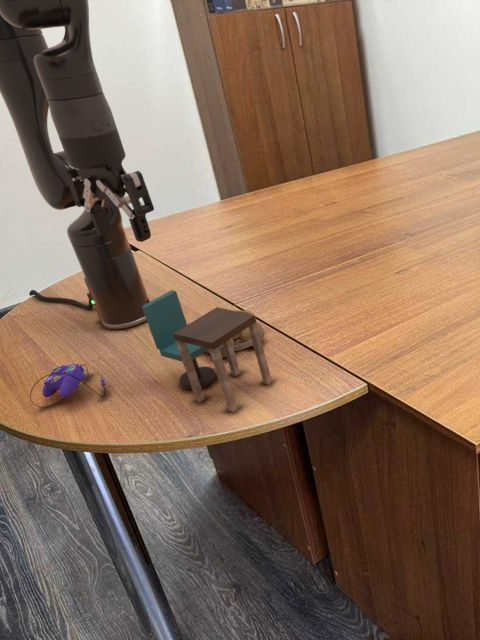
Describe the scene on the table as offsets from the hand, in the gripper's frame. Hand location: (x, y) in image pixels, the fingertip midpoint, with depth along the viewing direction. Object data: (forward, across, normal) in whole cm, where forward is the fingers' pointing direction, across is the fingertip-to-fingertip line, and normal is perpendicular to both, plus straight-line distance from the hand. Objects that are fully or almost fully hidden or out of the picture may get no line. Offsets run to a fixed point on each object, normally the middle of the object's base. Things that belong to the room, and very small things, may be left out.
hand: (124, 236), depth 101 cm
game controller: (+24, +8, +12) cm, 28 cm away
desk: (+24, -16, +2) cm, 29 cm away
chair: (+24, -8, +2) cm, 26 cm away
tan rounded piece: (+24, -5, -10) cm, 27 cm away
